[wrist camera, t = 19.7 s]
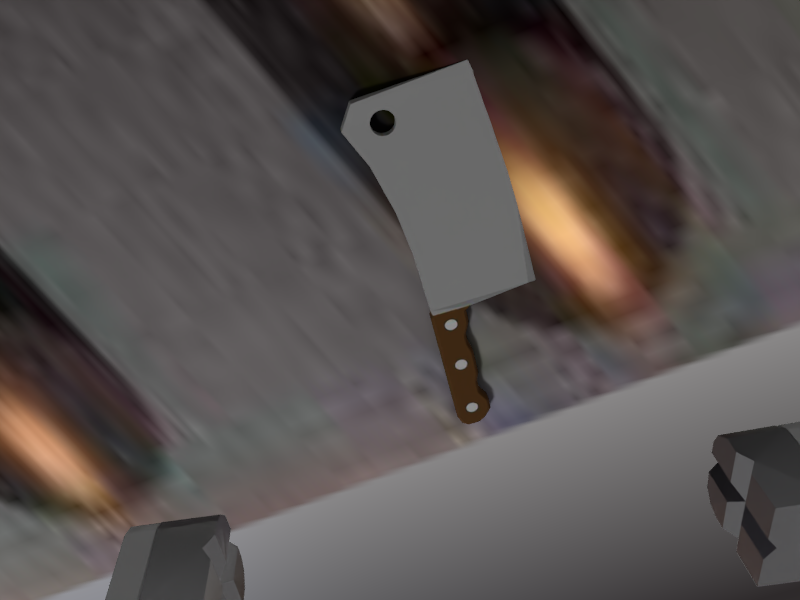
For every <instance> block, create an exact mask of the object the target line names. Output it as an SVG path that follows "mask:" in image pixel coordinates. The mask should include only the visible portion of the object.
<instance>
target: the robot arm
mask: <svg viewBox="0 0 800 600" xmlns="http://www.w3.org/2000/svg"><path fill="white" fill-rule="evenodd" d="M712 454H713V455H714V457H715V458H716V460H717V462H718V463H717V464H716V465H715V466H714V467H713V468H712V469H711V470H710V471H709V475H708V485H707V488H708V493H709V499H710V504H711V506H712V509H713V511H714V514H715V516H716V518H717V520H718V521H719V523H720V525H721V527H722V528H723V529H724V530H726V531H728V532H729V533H731V534H732V535H734V536H736V537H737V538H739V539H738V544H737V550H736V552H737V553H738V555H739V557H740V559H741V560H742V562H743V563H744V565H745V567H746V568H747V570H748V572H749V573H750V575H751V577H752V579H753V580H754V582H755V584H756V585H757V586H766V585H774V584H781V583H789V582H796V581H800V422H796V423H790V424H784V425H779V426H770V427H764V428H758V429H753V430H747V431H741V432H735V433H730V434H723V435H718V436H717V438H716V439H715V440H714V443H713V449H712ZM230 531H231V528H230V526H229V523H228V521H227V519H226V517H225V515H214V516H206V517H199V518H191V519H183V520H176V521H168V522H161V523H157V524H149V525H142V526H135V527H131V528H130V529H129V530H128V532H127V533H126V535H125V536H124V539H123V542H122V546H121V549H120V552H119V556H118V559H117V562H116V566H115V569H114V572H113V576H112V579H111V582H110V585H109V589H108V592H107V596H106V599H105V600H244V591H245V582H244V568H243V562H242V558H241V555H240V552H239V549H238V547H237V546H236V545H234V544H232V543H231V542H229V538H230Z"/></svg>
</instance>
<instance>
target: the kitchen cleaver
mask: <svg viewBox="0 0 800 600" xmlns="http://www.w3.org/2000/svg"><path fill="white" fill-rule="evenodd" d="M379 110H388V111H390V112H392V113H393V115H394V116H395V123H394V126H393V127H392V129H390V130H389V131H387V132H385V133H379V132H376V131H374V130H373V129H372V128H371V127H370V119H371V117H372V115H373V114H374V113H375V112H377V111H379ZM341 132H342V134H343V135H344V136H345V137H346V138H347V140H348V141H349V142H350V143H351V145H352V146H353V147H354V148H355V149H356V151H357V152H358V153H359V154H360V155H361V157H362V158H363V159H364V160H365V161H366V163H367V164H368V165H369V166H370V168H371V169H372V171H373V173H374V175H375V177H376V178H377V180H378V182H379V184H380V185H381V187H382V189H383V191H384V193H385V194H386V196H387V198H388V200H389V201H390V203H391V205H392V207H393V208H394V210H395V212H396V214H397V217H398V219H399V221H400V224H401V226H402V229H403V231H404V234H405V236H406V238H407V241H408V243H409V246H410V248H411V251H412V253H413V256H414V260H415V263H416V266H417V269H418V272H419V276H420V279H421V282H422V285H423V289H424V292H425V295H426V298H427V301H428V305H429V308H430V313H429V314H430V317H431V321H432V325H433V329H434V332H435V336H436V340H437V343H438V347H439V351H440V354H441V358H442V362H443V365H444V369H445V373H446V376H447V380H448V384H449V388H450V391H451V395H452V399H453V402H454V406H455V410H456V413H457V416H458V418H459V419H460V420H461V421H462V423H466V424H472V423H475V422H478V421H480V420H481V419H482V418H484V417H485V416H486V414H487V412H488V411H489V409H490V403H489V399H488V396H487V394H486V392H485V391H484V390H483V389H482V388H481V387H479V386H478V382H477V377H478V369H477V365H476V361H475V357H474V352H473V349H472V347H471V345H470V343H469V342H468V340H467V337H466V330H467V326H468V322H469V321H468V317H467V312H466V309H468V307H469V306H470V305H472V304H474V303H477V302H479V301H482V300H485V299H487V298H490V297H492V296H495V295H497V294H500V293H502V292H505V291H507V290H510V289H513V288H515V287H518V286H520V285H523V284H525V283H528V282H531V281H534V280H535V276H534V272H533V267H532V263H531V259H530V255H529V251H528V247H527V243H526V239H525V235H524V230H523V226H522V222H521V218H520V214H519V210H518V206H517V202H516V199H515V195H514V192H513V189H512V185H511V182H510V178H509V175H508V171H507V169H506V166H505V163H504V160H503V157H502V154H501V151H500V148H499V145H498V143H497V140H496V137H495V134H494V131H493V128H492V125H491V122H490V119H489V116H488V114H487V111H486V109H485V106H484V103H483V100H482V97H481V95H480V92H479V89H478V86H477V83H476V80H475V77H474V75H473V70H472V68H471V66H470V64H469V62H468V60H465V61H462V62H459V63H456V64H454V65H451V66H448V67H445V68H442V69H439V70H436V71H433V72H430V73H428V74H425V75H422V76H419V77H416V78H413V79H410V80H407V81H405V82H402V83H399V84H396V85H393V86H390V87H387V88H384V89H381V90H379V91H376V92H373V93H370V94H367V95H364V96H361V97H358V98H356V99H353V100H350V101H349V103H348V107H347V110H346V113H345V116H344V119H343V122H342V125H341Z"/></svg>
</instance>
